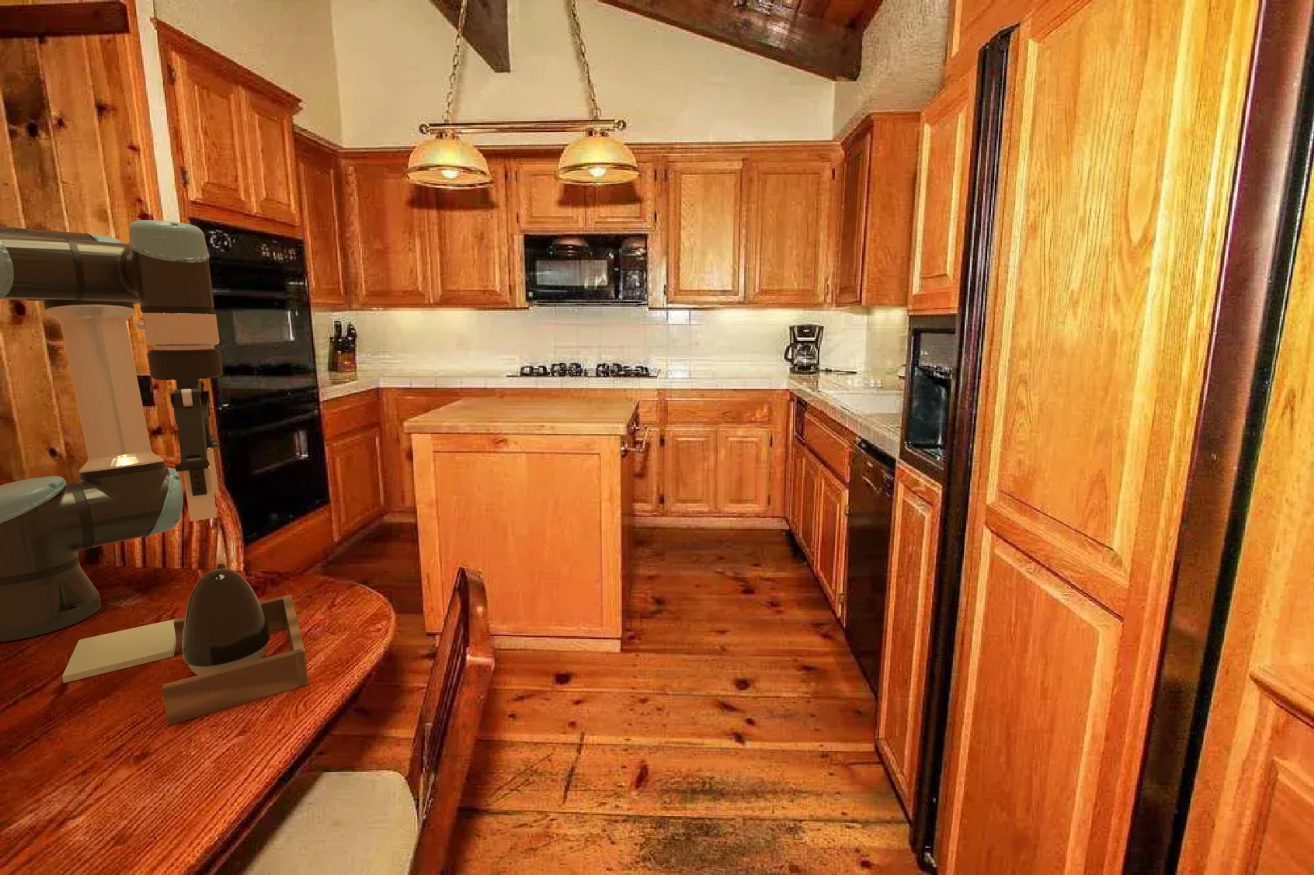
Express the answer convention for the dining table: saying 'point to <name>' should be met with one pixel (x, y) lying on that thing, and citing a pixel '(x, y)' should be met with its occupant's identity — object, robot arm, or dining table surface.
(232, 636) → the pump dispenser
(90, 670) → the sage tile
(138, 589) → the dining table surface
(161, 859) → the dining table surface
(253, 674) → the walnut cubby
